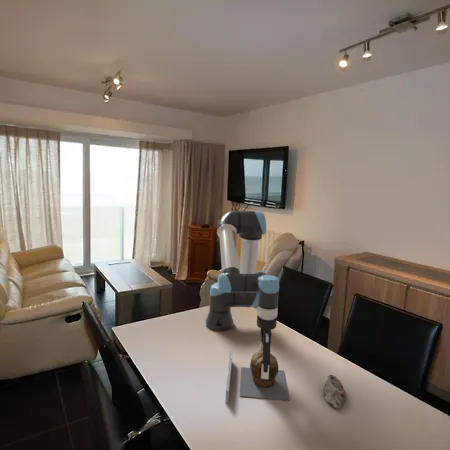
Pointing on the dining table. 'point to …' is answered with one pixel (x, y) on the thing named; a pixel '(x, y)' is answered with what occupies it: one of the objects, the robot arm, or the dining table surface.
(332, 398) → the mineral rock
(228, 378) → the acrylic wall
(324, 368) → the dining table surface
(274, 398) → the rest mat
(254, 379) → the ribbed globe cactus
